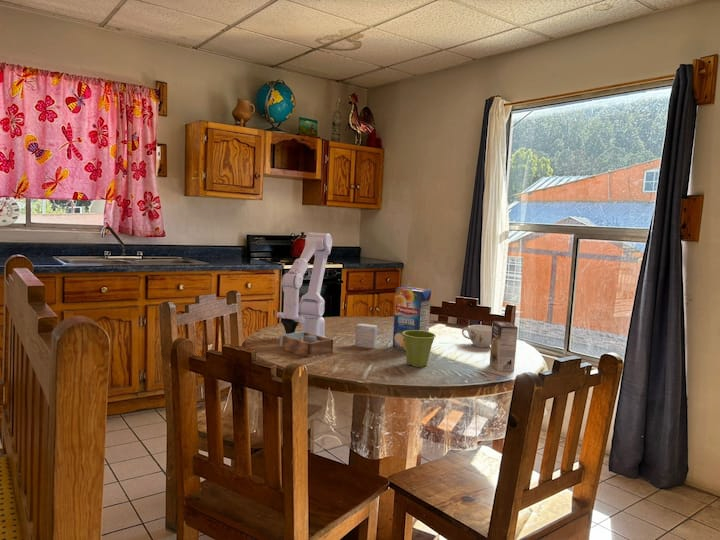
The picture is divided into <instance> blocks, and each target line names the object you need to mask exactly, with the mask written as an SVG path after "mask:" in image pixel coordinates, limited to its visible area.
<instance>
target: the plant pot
mask: <svg viewBox="0 0 720 540" xmlns="http://www.w3.org/2000/svg"><path fill="white" fill-rule="evenodd" d="M403 335H404V340H405V347H406V350H405V355H406V364H407V365H409V366H410V365H411V366H412V367H419V368H422V367H425V366H426V367H427V366H428V361H429V358H430V353H431V350H432V346H433V343H434V339H435V338H436V336H437V335H436V334H435V333H433V332H431V331H429V332H427V331H419V330H408V331H404V332H403Z"/></svg>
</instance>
